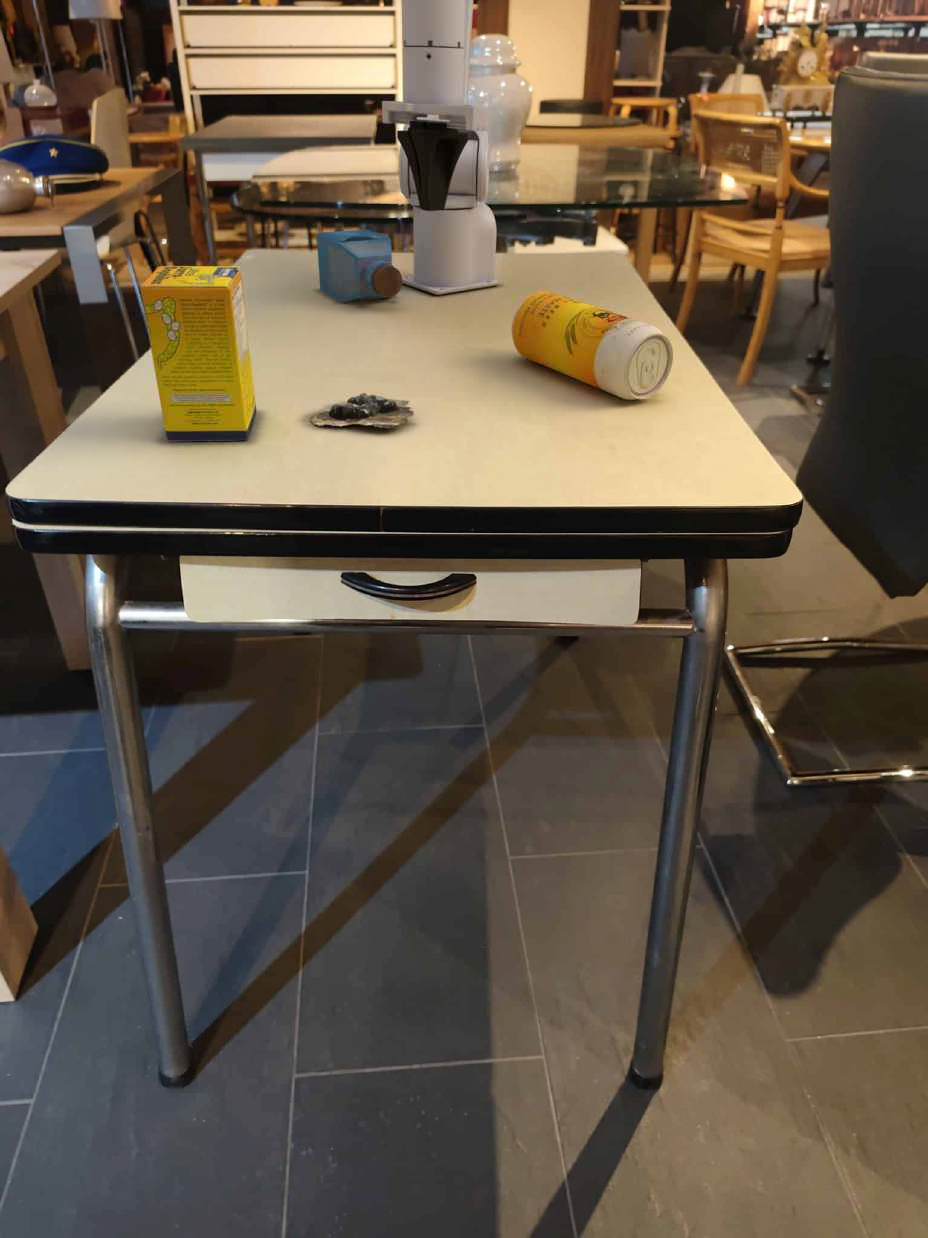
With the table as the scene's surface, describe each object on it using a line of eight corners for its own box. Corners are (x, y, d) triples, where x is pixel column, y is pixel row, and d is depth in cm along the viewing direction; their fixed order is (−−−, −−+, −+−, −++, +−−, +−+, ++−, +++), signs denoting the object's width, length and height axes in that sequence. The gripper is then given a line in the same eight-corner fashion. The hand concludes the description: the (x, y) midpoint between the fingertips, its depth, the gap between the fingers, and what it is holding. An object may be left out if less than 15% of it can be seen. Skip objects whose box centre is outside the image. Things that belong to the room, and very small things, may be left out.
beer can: (556, 280, 81) (678, 318, 71) (559, 345, 85) (675, 389, 74) (504, 299, 78) (622, 342, 68) (509, 365, 82) (622, 414, 72)
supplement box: (179, 413, 69) (156, 264, 63) (257, 412, 69) (241, 264, 63) (164, 442, 64) (137, 284, 58) (249, 441, 64) (230, 284, 58)
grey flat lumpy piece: (419, 433, 66) (419, 408, 65) (311, 438, 65) (309, 413, 64) (407, 402, 72) (407, 379, 71) (307, 406, 71) (306, 383, 70)
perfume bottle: (368, 285, 105) (415, 308, 97) (320, 290, 103) (363, 315, 94) (366, 229, 102) (414, 248, 93) (316, 232, 99) (361, 253, 91)
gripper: (354, 46, 84) (359, 203, 91) (446, 45, 74) (443, 221, 81) (414, 49, 88) (415, 200, 95) (509, 48, 78) (502, 216, 85)
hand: (432, 209), depth 88 cm, fingers closed
